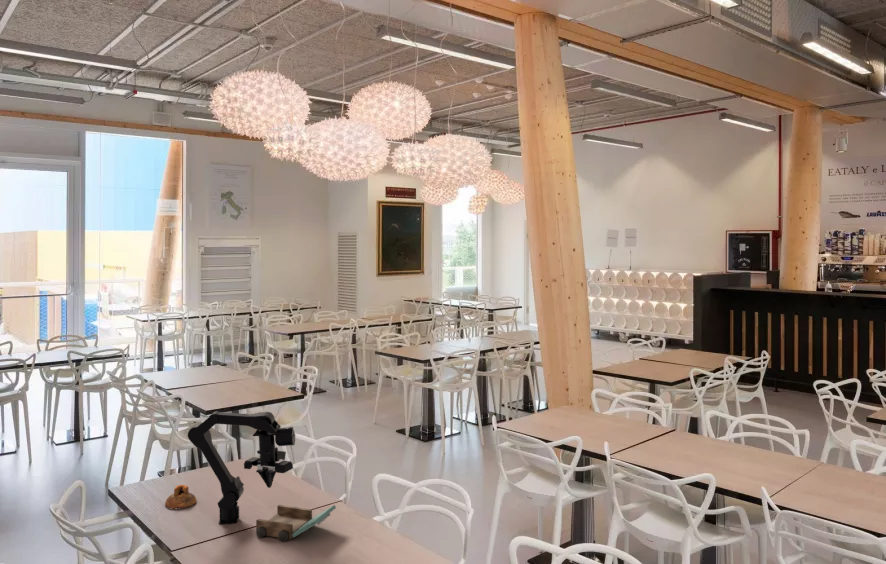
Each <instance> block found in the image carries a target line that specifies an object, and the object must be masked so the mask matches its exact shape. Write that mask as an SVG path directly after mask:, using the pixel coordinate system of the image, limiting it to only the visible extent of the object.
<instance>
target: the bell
mask: <svg viewBox="0 0 886 564" xmlns="http://www.w3.org/2000/svg"><path fill="white" fill-rule="evenodd" d="M196 503H197V497H196V496H195V494H193V493H191V492H189V486H188V485H187V484H178V485H177V486H175V488H174V490H173V493H172V494H170V495H169V496H168V497H167V498H166V500H165V501H164V505H165V507H166V508H167V507H168V508H167V509H169V508H172V509H171V510H180V509H179V508H183V509H187V508H190V507H193V506H194V505H195V504H196ZM193 504H194V505H193ZM189 506H190V507H189ZM186 507H187V508H186ZM175 508H177V509H175Z"/></svg>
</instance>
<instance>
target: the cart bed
mask: <svg viewBox="0 0 886 564" xmlns="http://www.w3.org/2000/svg"><path fill="white" fill-rule="evenodd" d="M276 507H277V509H276V510H277V511H276V514H274V515H273V516H272V517H271V518H269V519H262V518H258V519H256V525H255V527H256V529H255V530H256V532H255V534H256V536H257V537H258V538H260V539H261V538H264V537H265V536H267V537H272V538H278V539H279V540H280V541H281V542H286V541H287V540H290V541H291V540H293V539H294V538H293V536H292V534H293V533H294V532H296V531H297V530H298V529H299V528H301V527H302V526H303V525H304V524H306V523H307V522H308V521H310V520H311V519H312V518H313V509H310V508H303V507H297V506H291V505H285V504H284V505H283V504H278V505H277V506H276Z"/></svg>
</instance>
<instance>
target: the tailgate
mask: <svg viewBox="0 0 886 564" xmlns="http://www.w3.org/2000/svg"><path fill="white" fill-rule="evenodd" d="M335 509H337V507H336V505H332V506H330V507H329V508H327V509H325V510H323V511H322V512H320V513H318V514H317V515H316V516H314V517H312V519H311V520H310V521H308V522H307V523H306V524H304V525H303V526H302V527H301V528H299V529H298V530H297V531H296V532H294V533H293V534H292V536H293V538H292V539H294V538H295V537H297V536H299V535H300V534H302V533H304V532H305V531H307V530H309V529H310V528H312V527H314V526H315V525H321V524H322V523H324V521H326V520H327V519H328V518H329V517H330V516H331V513H332V512H333V511H334V510H335Z"/></svg>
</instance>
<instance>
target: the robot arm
mask: <svg viewBox="0 0 886 564" xmlns="http://www.w3.org/2000/svg"><path fill="white" fill-rule="evenodd" d="M215 425H229V426H244V427H246V426H247V427H249V428H252V429H254V430H255V432H254V433H252V437H258V450H256V452H257V453H256V454H257V455H259V457H254V456H253V457H251V458H248V459H245V461H244V463H243V469H245V470H251V469H252V468H253V467H257V468H256V471H255V472H256V473H258V475H259V476H260V478H261V479H262V480H263V482H264V483H265V485H266V488H268V489H270V488H271V487H272V485H273V482H274V478H275V476H276V474H277V473H279V474H285V473H288V472H289V471H291V470H293V469H294V463H293V462H292V461H290V460H285V459H286V454H287V451H282V450H278V447H288V446H290V447H291V446H295V444H296V433H295V430H294V426H288V427H281V425H280V424H279V423H278V421H277V420H276V418H275V416H274V414H273V412H271V411H261V412H255V413H237V412H223V411H218V410H217V411H216V410H215V411H213V412H212V413H211V414H210V415H209V417H207V418H206V419H204V421H202V422H198V423H196V424H195V425H194V426H192V427H191V428H189V430H188V432H187V439H188V441H190V443H191V444H193V446H194V447H196V448H197V449H199V450H200V451H201V453H202V454H203V456H204V458H205V459H206V462H207V463H208V464H209V466H210V468H211V469H212V471H213V473H214V475H215V476H216V478H217V480H218V481H219V484H220V491H221V494H222V497H221V498H220V500H219V501H218V502H217V506H218V509H219V519H218V520H219V521H218V524H219V525H222V524H223V525H224V524H225V525H226V524H236V523H238V520H239V519H240V506H239V503H238V501H239V500H240V498H241V497H242V495H243V493H244V492H245V487H244V486H245V483H243V482H242V480H241V478H240V476H239V475H237V476H236V477H235V476H233V475H232V474H231V472H230V471H229V469H228V467H227V466H226V465H227V464H225V462H224V461H223V459H222V457H221V455H220V453H219V452H218V450H217V449H216V447H215V445H214V444H213V439H212V434H211V431H210V429H212V428H213V427H214V426H215ZM276 445H277V446H278V447H276ZM280 460H282V461H280ZM279 461H280V462H279Z"/></svg>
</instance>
